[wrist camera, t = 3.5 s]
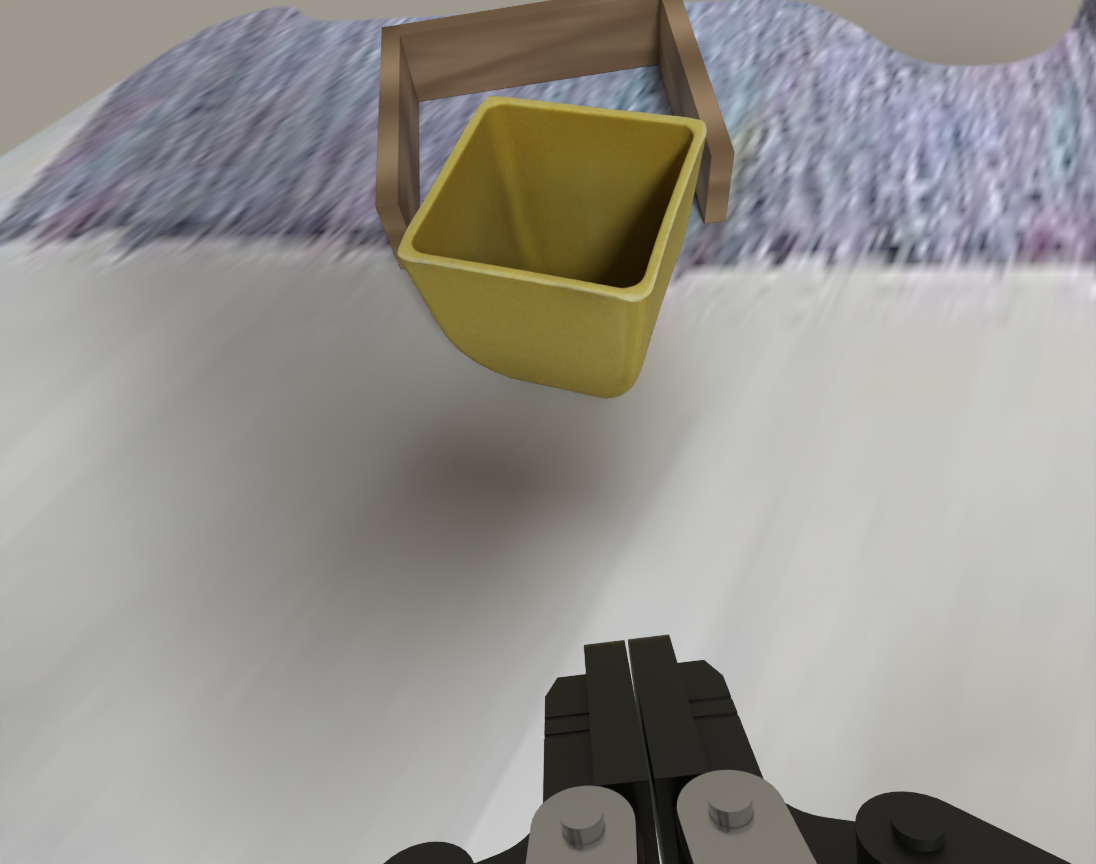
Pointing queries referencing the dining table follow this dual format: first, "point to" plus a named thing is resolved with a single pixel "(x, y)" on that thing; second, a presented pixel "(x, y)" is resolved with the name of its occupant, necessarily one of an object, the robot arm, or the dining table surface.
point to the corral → (537, 79)
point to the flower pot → (556, 238)
